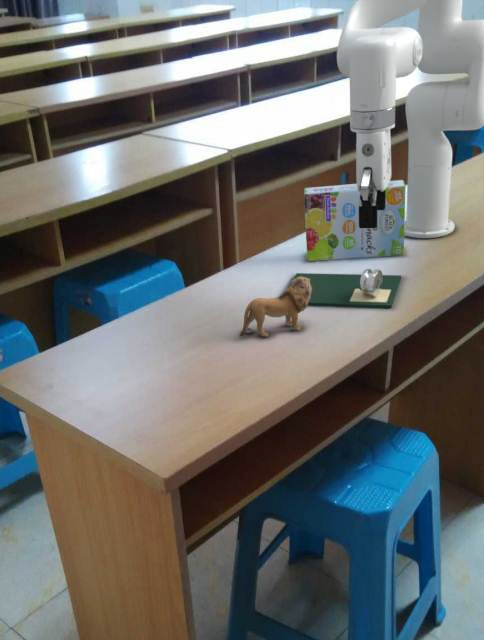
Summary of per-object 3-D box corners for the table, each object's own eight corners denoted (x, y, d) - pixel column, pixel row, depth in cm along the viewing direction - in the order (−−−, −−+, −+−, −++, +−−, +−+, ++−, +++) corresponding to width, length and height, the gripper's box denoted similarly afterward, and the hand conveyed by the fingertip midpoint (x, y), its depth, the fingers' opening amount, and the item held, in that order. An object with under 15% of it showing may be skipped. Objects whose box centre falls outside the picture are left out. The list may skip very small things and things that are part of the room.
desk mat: (296, 275, 153) (296, 272, 153) (401, 278, 146) (401, 274, 146) (278, 304, 142) (278, 300, 141) (390, 308, 135) (390, 304, 134)
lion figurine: (306, 316, 136) (304, 270, 131) (319, 326, 132) (317, 279, 127) (234, 334, 132) (229, 288, 127) (244, 345, 128) (239, 298, 123)
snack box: (401, 247, 161) (403, 178, 153) (403, 256, 156) (406, 185, 148) (307, 253, 164) (304, 186, 156) (306, 262, 159) (303, 193, 151)
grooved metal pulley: (373, 300, 137) (373, 275, 134) (358, 298, 138) (358, 274, 135) (382, 290, 140) (382, 266, 137) (368, 289, 141) (368, 264, 139)
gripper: (387, 130, 114) (386, 235, 124) (401, 106, 127) (399, 203, 137) (340, 132, 116) (343, 235, 126) (359, 108, 129) (360, 203, 139)
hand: (372, 218), depth 132 cm, fingers open, 9 cm apart
